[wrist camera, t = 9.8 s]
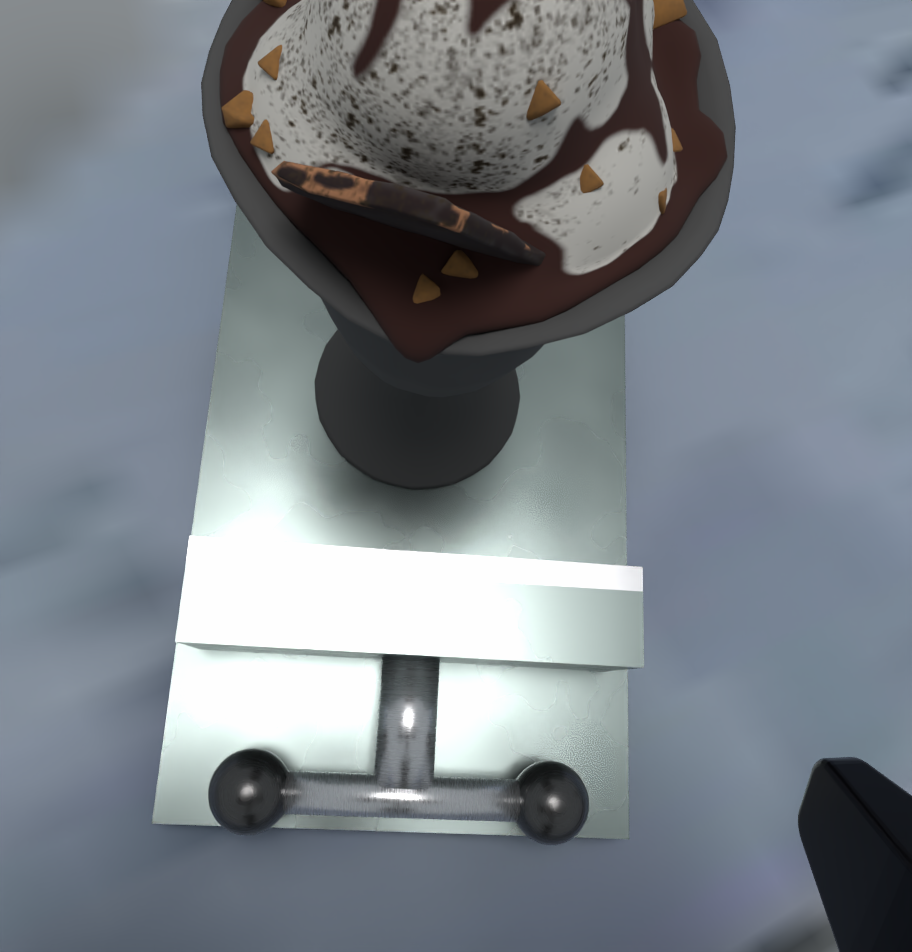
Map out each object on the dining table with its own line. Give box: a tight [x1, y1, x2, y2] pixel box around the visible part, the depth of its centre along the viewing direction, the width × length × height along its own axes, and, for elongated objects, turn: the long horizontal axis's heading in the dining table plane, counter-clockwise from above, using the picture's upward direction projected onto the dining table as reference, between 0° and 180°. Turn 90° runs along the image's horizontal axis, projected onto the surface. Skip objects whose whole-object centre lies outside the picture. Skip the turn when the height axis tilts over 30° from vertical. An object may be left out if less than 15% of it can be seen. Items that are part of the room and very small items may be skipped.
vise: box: [152, 205, 644, 845], centre depth 18 cm, size 16×10×4 cm, turn 178°
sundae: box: [201, 0, 736, 489], centre depth 12 cm, size 7×7×15 cm
